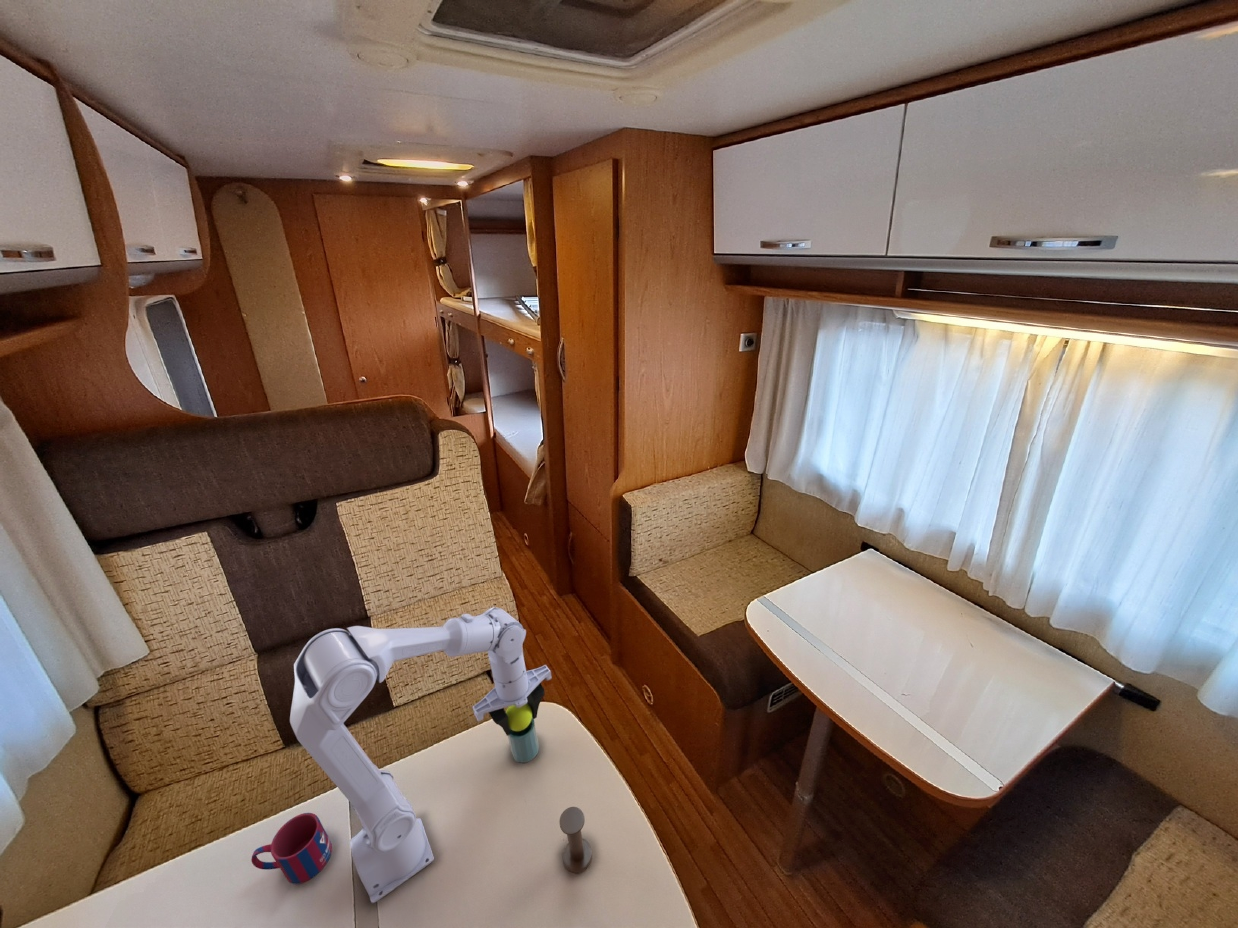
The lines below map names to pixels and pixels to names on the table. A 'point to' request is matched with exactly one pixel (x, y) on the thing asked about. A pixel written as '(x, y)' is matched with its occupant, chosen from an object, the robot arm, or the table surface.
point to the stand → (575, 841)
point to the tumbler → (524, 743)
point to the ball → (519, 717)
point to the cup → (297, 849)
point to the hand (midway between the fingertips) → (519, 722)
